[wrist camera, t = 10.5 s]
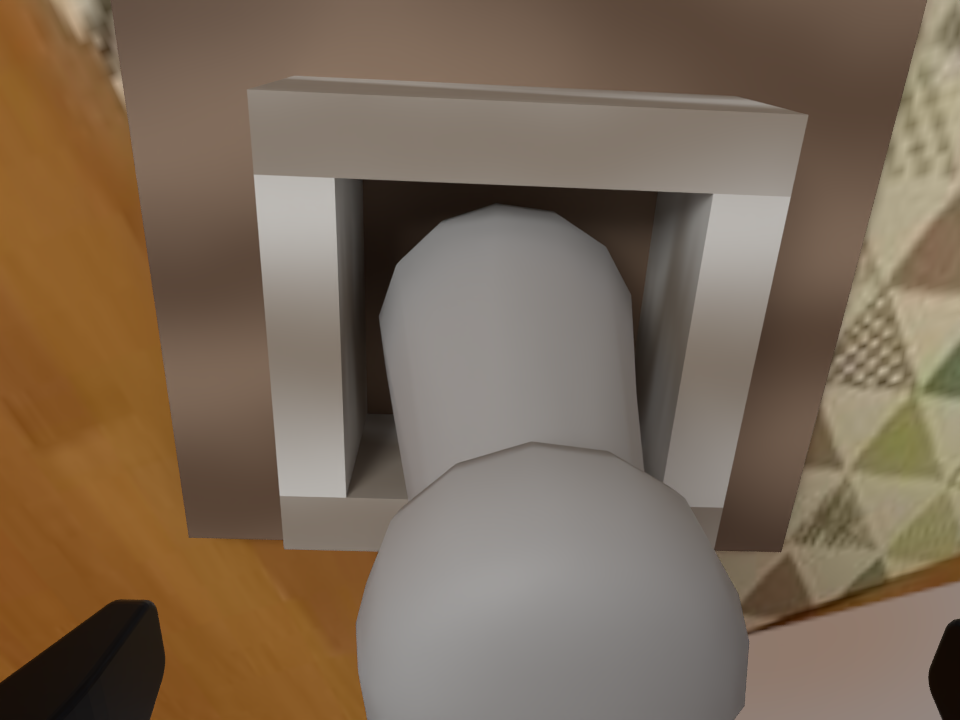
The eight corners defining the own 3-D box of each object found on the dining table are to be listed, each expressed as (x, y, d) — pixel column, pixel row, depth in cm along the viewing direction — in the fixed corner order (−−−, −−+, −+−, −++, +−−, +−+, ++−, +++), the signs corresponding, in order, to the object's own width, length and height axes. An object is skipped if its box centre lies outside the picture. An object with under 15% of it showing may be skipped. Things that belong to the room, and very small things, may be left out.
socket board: (766, 527, 24) (841, 652, 19) (202, 513, 23) (134, 638, 18) (906, -33, 17) (1074, -55, 12) (123, -74, 17) (-14, -114, 12)
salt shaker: (613, 388, 20) (821, 898, 8) (405, 405, 20) (322, 932, 8) (611, 172, 18) (900, 463, 6) (375, 193, 18) (200, 518, 6)
